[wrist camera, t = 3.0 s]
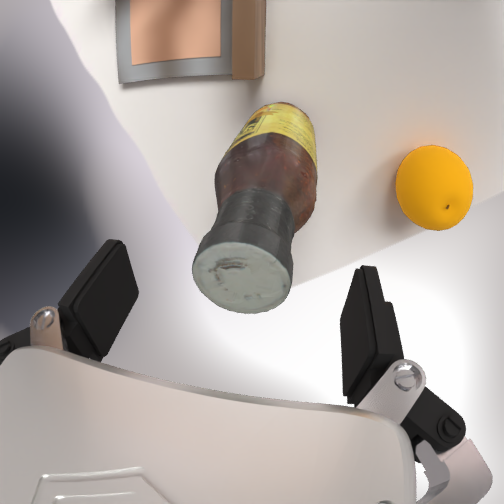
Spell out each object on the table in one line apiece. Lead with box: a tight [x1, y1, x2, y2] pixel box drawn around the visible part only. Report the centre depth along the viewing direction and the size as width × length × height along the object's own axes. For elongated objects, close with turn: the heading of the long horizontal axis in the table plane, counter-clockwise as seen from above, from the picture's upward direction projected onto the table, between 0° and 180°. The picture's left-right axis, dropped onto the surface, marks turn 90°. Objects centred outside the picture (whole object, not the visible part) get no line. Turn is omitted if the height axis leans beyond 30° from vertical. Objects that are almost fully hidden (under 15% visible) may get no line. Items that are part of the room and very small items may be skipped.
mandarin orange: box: [395, 145, 473, 231], centre depth 23 cm, size 8×8×8 cm
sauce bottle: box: [192, 102, 317, 314], centre depth 19 cm, size 7×6×20 cm
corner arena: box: [115, 0, 266, 84], centre depth 18 cm, size 15×15×6 cm
